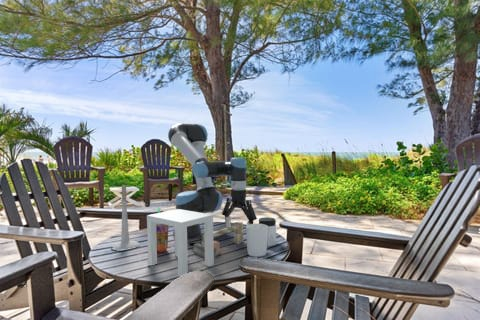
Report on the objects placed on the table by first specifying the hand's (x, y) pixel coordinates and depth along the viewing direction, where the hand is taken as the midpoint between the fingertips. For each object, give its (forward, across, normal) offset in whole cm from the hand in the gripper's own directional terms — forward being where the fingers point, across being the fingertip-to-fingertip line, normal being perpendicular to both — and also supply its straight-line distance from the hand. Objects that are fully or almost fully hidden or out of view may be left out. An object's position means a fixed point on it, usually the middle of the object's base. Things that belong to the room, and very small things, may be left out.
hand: (238, 231), depth 148 cm
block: (+5, +1, -20) cm, 21 cm away
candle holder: (+5, +17, -8) cm, 19 cm away
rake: (+5, 0, -12) cm, 13 cm away
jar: (+5, +13, +6) cm, 15 cm away
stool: (+5, 0, -37) cm, 37 cm away
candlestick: (+6, -39, -38) cm, 55 cm away
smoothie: (+5, -20, -32) cm, 38 cm away
